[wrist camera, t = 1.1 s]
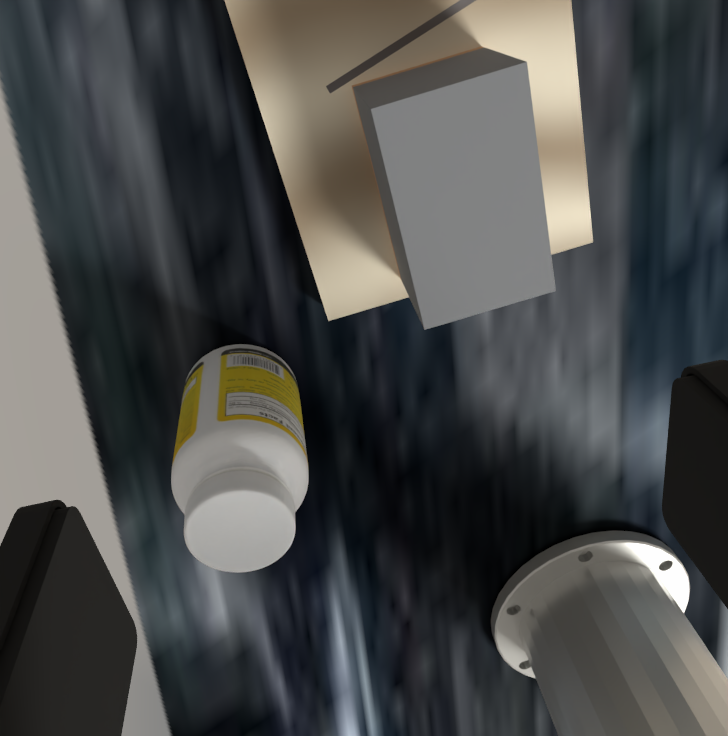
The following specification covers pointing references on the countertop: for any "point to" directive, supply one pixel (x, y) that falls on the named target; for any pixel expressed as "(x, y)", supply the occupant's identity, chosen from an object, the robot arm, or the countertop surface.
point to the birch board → (344, 130)
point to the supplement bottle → (240, 458)
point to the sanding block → (460, 182)
